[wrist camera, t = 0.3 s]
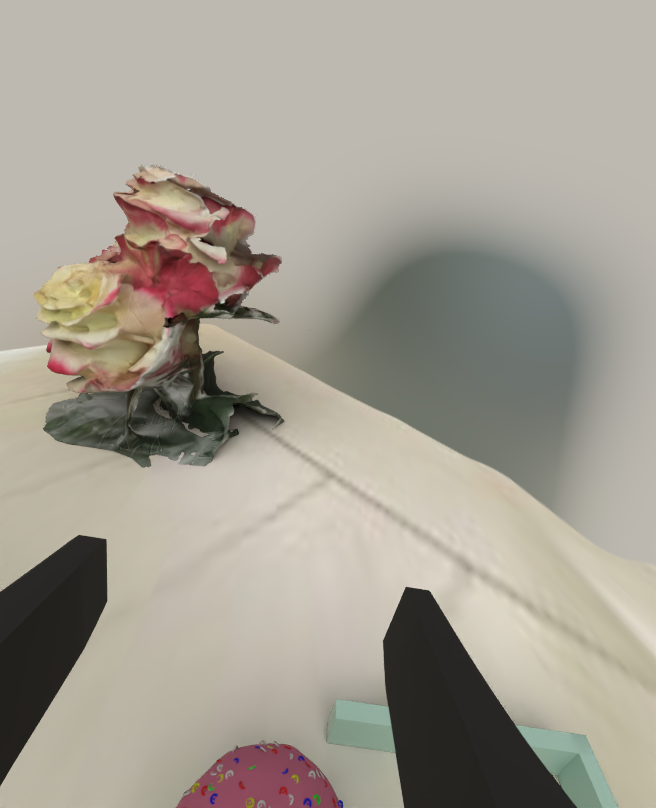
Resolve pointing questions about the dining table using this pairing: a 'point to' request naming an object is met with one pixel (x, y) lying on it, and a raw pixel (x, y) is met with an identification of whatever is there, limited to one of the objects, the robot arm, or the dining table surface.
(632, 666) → the dining table surface
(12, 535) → the dining table surface
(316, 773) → the cupcake
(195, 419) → the rose bouquet
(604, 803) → the mint green u shape
